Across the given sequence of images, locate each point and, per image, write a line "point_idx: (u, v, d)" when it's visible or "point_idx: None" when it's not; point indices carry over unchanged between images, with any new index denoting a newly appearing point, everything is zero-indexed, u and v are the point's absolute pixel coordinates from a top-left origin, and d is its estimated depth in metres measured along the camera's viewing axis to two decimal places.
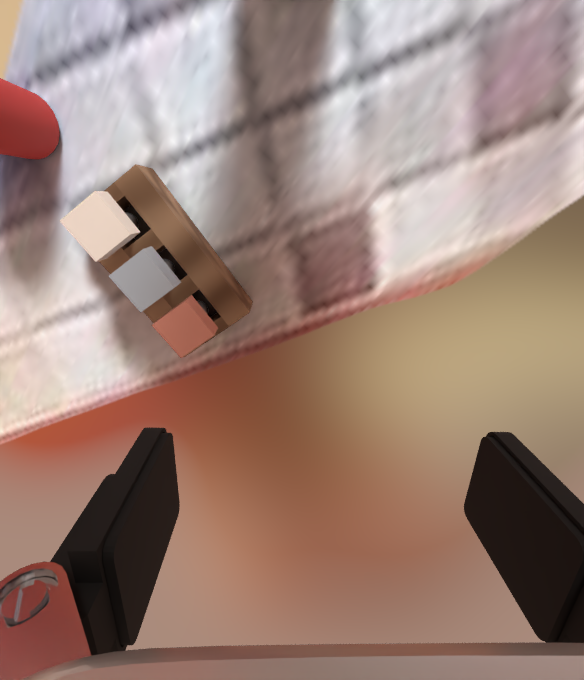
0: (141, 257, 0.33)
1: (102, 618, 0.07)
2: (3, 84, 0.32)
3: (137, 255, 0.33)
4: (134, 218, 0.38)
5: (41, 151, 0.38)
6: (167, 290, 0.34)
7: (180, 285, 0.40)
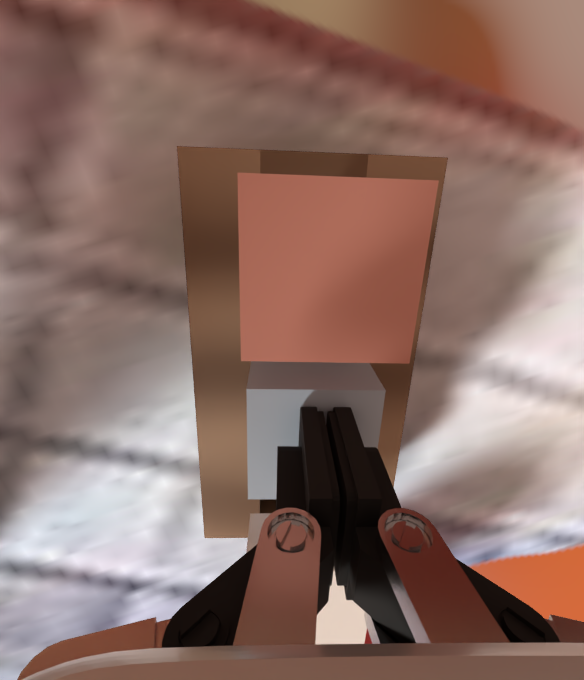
0: (266, 488, 0.12)
1: None
2: None
3: (271, 495, 0.13)
4: None
5: None
6: (270, 394, 0.11)
7: None
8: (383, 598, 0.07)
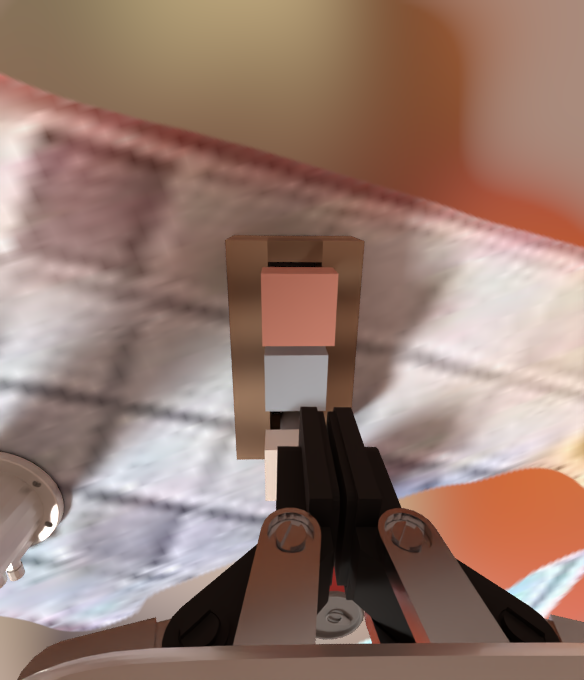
0: (274, 405, 0.26)
1: None
2: None
3: (276, 409, 0.26)
4: (280, 421, 0.31)
5: None
6: (275, 357, 0.24)
7: None
8: (383, 598, 0.07)
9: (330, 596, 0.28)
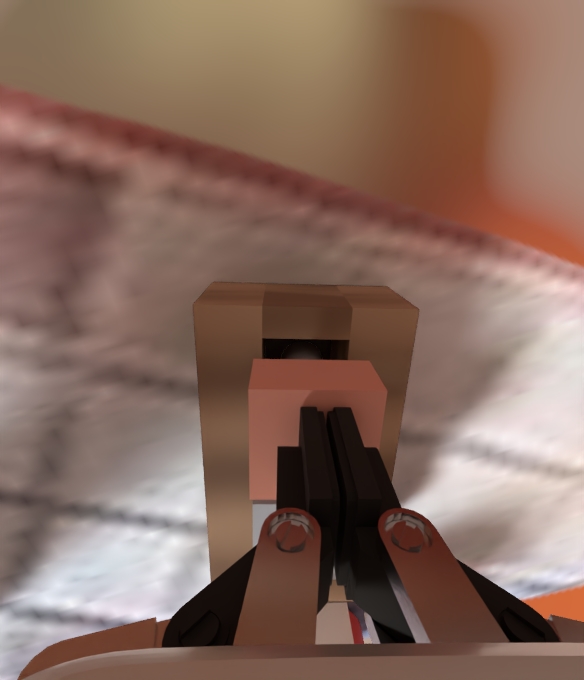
0: None
1: None
2: None
3: None
4: None
5: None
6: (271, 507, 0.15)
7: None
8: (383, 597, 0.07)
9: None
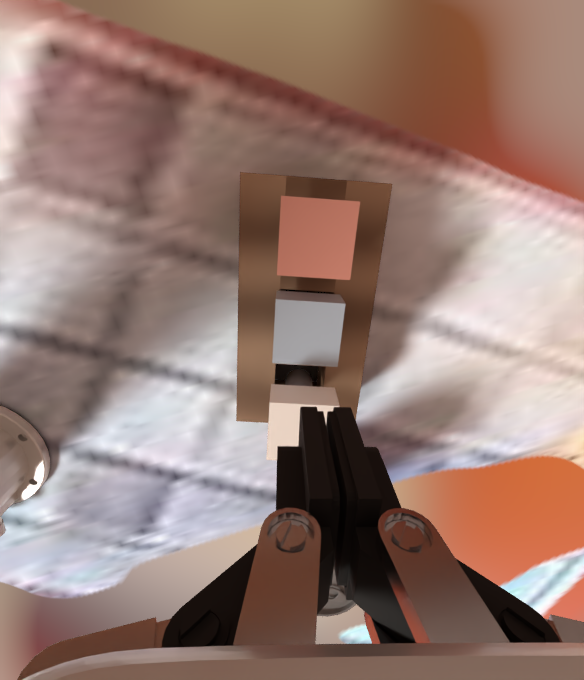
0: (282, 357, 0.24)
1: None
2: None
3: (284, 361, 0.24)
4: (285, 382, 0.29)
5: None
6: (287, 302, 0.22)
7: (300, 283, 0.26)
8: (383, 598, 0.07)
9: None
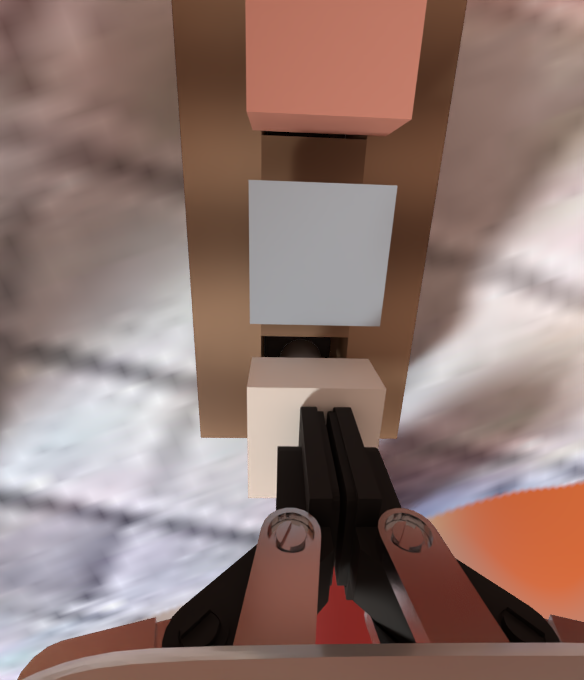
0: (269, 309, 0.12)
1: None
2: None
3: (274, 320, 0.12)
4: None
5: None
6: (274, 187, 0.10)
7: (298, 181, 0.14)
8: (383, 598, 0.07)
9: None
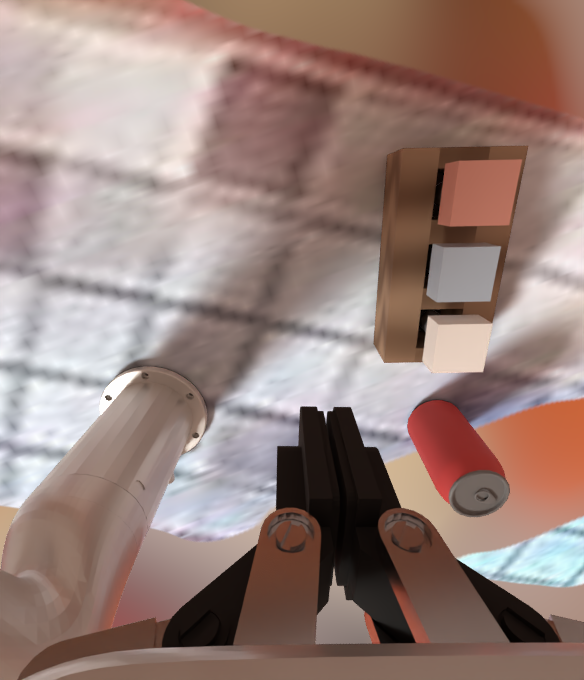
0: (445, 296, 0.29)
1: None
2: (425, 460, 0.38)
3: (446, 300, 0.29)
4: (421, 321, 0.36)
5: (443, 408, 0.41)
6: (453, 249, 0.28)
7: (446, 238, 0.31)
8: (383, 598, 0.07)
9: (483, 473, 0.32)
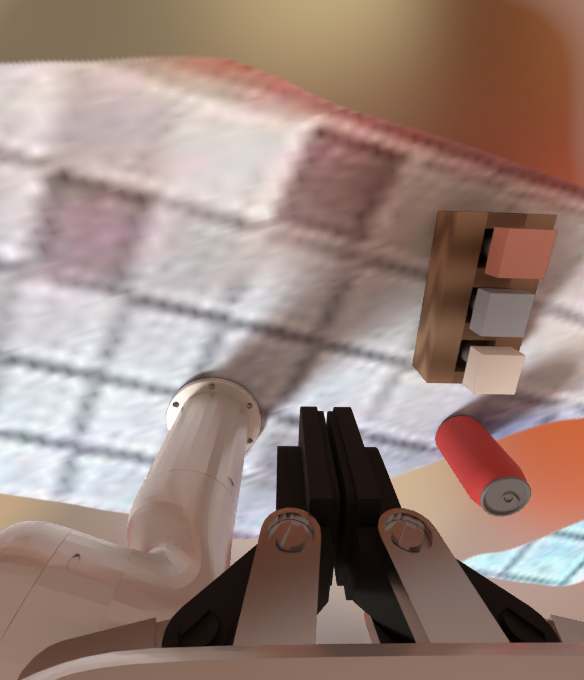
0: (488, 331, 0.36)
1: None
2: (455, 467, 0.44)
3: (489, 335, 0.36)
4: None
5: (469, 423, 0.47)
6: (498, 295, 0.34)
7: (486, 283, 0.38)
8: (383, 598, 0.07)
9: (510, 479, 0.38)
